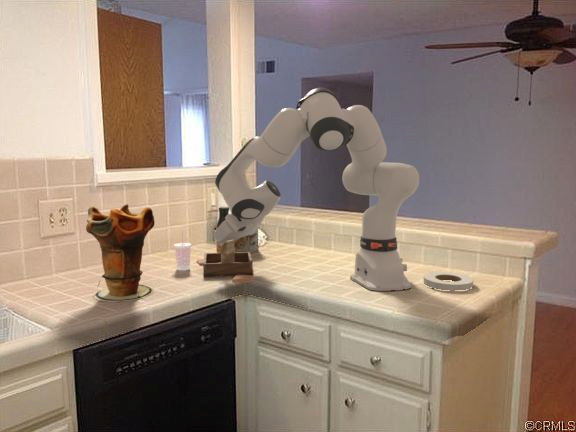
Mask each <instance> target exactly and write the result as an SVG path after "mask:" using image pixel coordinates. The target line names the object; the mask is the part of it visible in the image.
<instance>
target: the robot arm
mask: <svg viewBox="0 0 576 432" xmlns="http://www.w3.org/2000/svg"><path fill="white" fill-rule="evenodd" d="M382 133H383V132H382V131H381V128H380V126H379V123H378V122H377V119H376V118H375V116H374V115H373V113H372V112H371V110H370V109H369V108H368V107H367V106H364V105H362V104H354V105H352V106H349V107H348V108H341V105H340V103H339V100H338V98H337V96H336V94H334V92H332V90H330V89H328V88H326V87H317V88H314V89H312V90H310V91H308V92H307V94H305V95H304V97H303V98H301V99H299V100H298V102H297V104H296V108H292V107H287V108H282V109H281V110H280V111H279V112H278V113H277V114H276V115H275V116H274V117H273V118H272V119H271V120H270V122H269V123H268V125H267V126H266V128H265V129H264V131H263V132H262V134H261V135H260V136H254V137H252V138H251V139H250V140H248V141H247V142H246V143H245V144H244V145H243V146H242V148H241V149H240V150H239V151H238V152H237V153H236V155H235V156H234V157H233V158H232V160H231V161H230V162H229V163H228V164H227V165H225V167H224V168H222V169H221V170H220V171H219V172H218V174H217V175H216V178H215V181H214V183H215V184H214V185H215V186H216V188H217V189H218V191H219V193H220V194H221V196H222V197H223V200H224V203H225V205H227V206H226V207H228V208H229V212H230V213H229V214H228V215H227V216H226V217H225V219H226V220H225V221H223V222H222V223H221V225H220V226H219V227H218V228H217V230H216V229H215V231H214V232H213V238H214V239H215V241H216V240H217V242H218V244H219V245H220V247H221V246H224V245H225V244H226V243H225V242H226V241H229V240H234V243H235V242H236V241H237V240H238V239H240V238H241V237H244V236H248V235H251V234H253V233H254V232H255V231H256V230H257V229H258V230H259V228H260V226H261V224H262V222H264V219H265V217H267V216H268V215H269V214H270V213H271V212H272V211H273V210H274V209H275V207H276V206H277V204H278V203H279V202H280V200H281V198H282V197H281V196H282V195H281V192H280V190H279V188H278V187H277V186H276V185H275V184H274V183H273V182H272V181H270V180H265V181H263V182H262V183H261V184H260V185H258V186H256V187H251V185H250V183H249V181H248V179H247V175H246V172H247V170H248V169H249V167H251V166H252V164H253V163H254V162H255V161H256V162H257V163H259V164H260V165H262V166H264V167H268V168H272V169H273V168H274V169H275V168H276V169H277V168H281V167H284V166H285V165H286V164H287V163H288V162H289V161H290V160H291V159H292V157H293V156H294V154H295V153H296V151H297V150H298V148H299V146H300V145H301V143H303V141H304V140H306V139H307V138H310V140H311V142H312V144H313V145H314V147H315V148H317V150H320V151H322V152H327V153H328V152H333V151H337V150H339V149H341V148H343V147H344V146H346V147H347V150H348V152H349V154H350V158H351V163H349V164H347V166H346V167H345V168H344V170H343V172H342V176H341V178H342V179H341V180H342V184H343V186H344V188H345V190H346V191H348V192H350V193H353V194H357V195H363V196H378V201H377V203H376V204H375V205H372V206H370V207H368V208H367V209H366V210H365V211H364V212H363V213H362V216H361V217H362V218H361V220H362V221H361V236H360V240H359V246H360V249H359V250H358V252H357V253H356V254H355V261H354V262H355V263H354V264H355V265H354V273H353V274H350V275H349V279H350V280H352V281H353V280H354V282H355V283H357V284H359V285H360V286H362V287H364V288H366V289H367V290H369V291H379V292H382V291H383V292H387V291H388V292H389V291H390V292H391V290H395V291H404V290H403V289H405V290H409V288H410V289H411V288H412V284H411V283H410V281H409V280H408V278H407V276H406V275H405V272H407V271H408V265H407V264H406V263H403V258H402V257H400V254H399V251H398V250H397V249H398V240H397V237H396V231H397V230H396V229H397V217H398V213H399V210H400V208H401V206H402V204H403V203H404V202H405V201H406V200H407V199H408V198H409V197H411V196H412V195H414V193H415V192H416V191H417V189H418V187H419V185H420V175H419V172H418V170H417V168H416V167H415V166H413V165H411V164H406V163H401V162H387V161H385V162H384V160H385V158H386V156H387V151H388V149H387V145H386V141H385V139H384V136H383V134H382Z"/></svg>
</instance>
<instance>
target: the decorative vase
mask: <svg viewBox="0 0 576 432" xmlns="http://www.w3.org/2000/svg"><path fill="white" fill-rule="evenodd" d="M153 213H154V212H153V210H152V208H150V207H148V206H145V207H144V208H143V209H142V210H141V212H140V213H139V212H138V213H136V212H135V213H133V212H131V211H130V210H129V204H128V203H127V204H126V203H125V204H124V205H123V206H121V208H120V209H117V208H111V209H110V212H109V214H103V213H101V211H100V210H99V209H98V208H97V207H95V206H90V207H89V208H88V209H87V214H88V218H87V219H86V221H87V224H86V227H85V230H86V232H87V233H88V234H91V235H92V236H93V237H94V238H95V240H96V241H97V243H99V247H100V250H101V260H102V261H101V262H102V269H103V272H104V273H103V274H102V275H101V278H104V280H105V284H106V287H103V288H100V289H98V290H96V291H95V292H94V293H93V298H94V300H98V301H99V302H108V303H110V302H111V303H117V302H130V301H134V300H139V299H146V298H147V297H148V296H151V295H152V294H154V292H155V288H153V287H149V286H147V285H144V284H140V281H141V279H142V278H141V276H142V275H143V273H144V272H143V270H141V266H142V265H141V264H142V259H143V257H142V256H143V248H144V245H145V238H146V237H147V235H148V233H149V232H150V231H151V230H152V229H153V228H154V227H155V215H154V214H153ZM100 282H101V281H99V282H98V286H97V287H99V285H100Z"/></svg>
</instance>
